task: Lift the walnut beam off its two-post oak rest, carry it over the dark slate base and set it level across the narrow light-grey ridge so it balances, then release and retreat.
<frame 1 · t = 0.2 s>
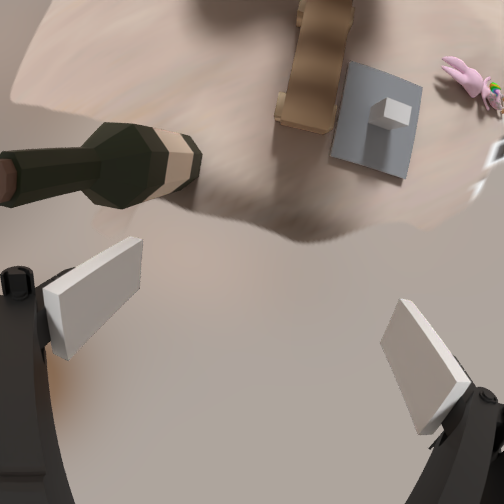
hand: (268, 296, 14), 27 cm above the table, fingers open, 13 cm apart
rabbit figure: (470, 87, 31), on the table
walnut beam: (317, 54, 29), point 5 cm above the table, touching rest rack
wine bottle: (175, 161, 40), on the table
fulcrum: (377, 119, 35), on the table
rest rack: (313, 66, 34), on the table
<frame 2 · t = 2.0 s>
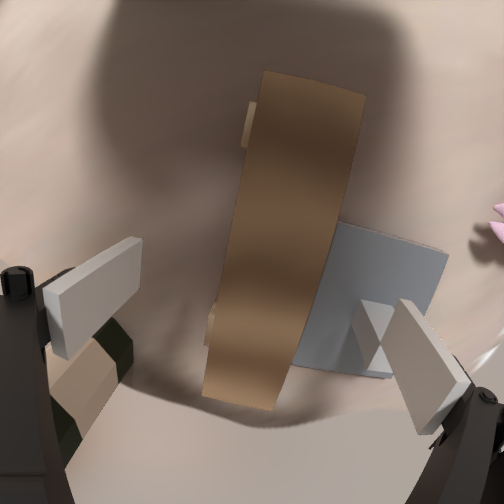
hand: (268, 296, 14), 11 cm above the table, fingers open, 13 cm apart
walnut beam: (274, 249, 20), point 5 cm above the table, touching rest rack
wine bottle: (105, 340, 31), on the table
fulcrum: (368, 307, 26), on the table
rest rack: (276, 230, 24), on the table
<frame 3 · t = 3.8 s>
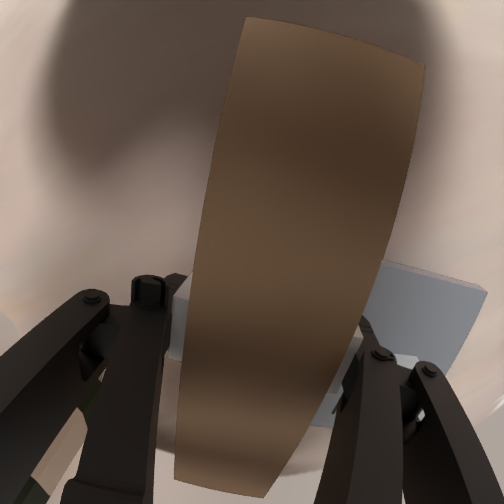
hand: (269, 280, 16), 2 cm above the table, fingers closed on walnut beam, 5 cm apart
walnut beam: (267, 303, 13), point 5 cm above the table, touching gripper, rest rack
wine bottle: (74, 380, 24), on the table
fulcrum: (387, 357, 19), on the table
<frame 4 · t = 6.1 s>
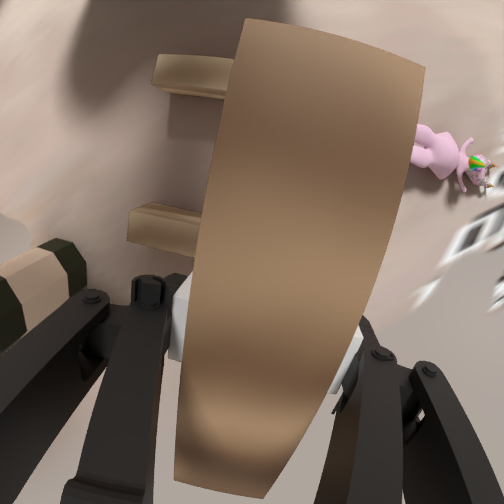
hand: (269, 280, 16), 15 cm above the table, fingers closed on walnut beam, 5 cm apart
rabbit figure: (441, 157, 26), on the table
walnut beam: (266, 305, 13), point 18 cm above the table, touching gripper
wine bottle: (66, 266, 35), on the table
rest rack: (190, 152, 29), on the table
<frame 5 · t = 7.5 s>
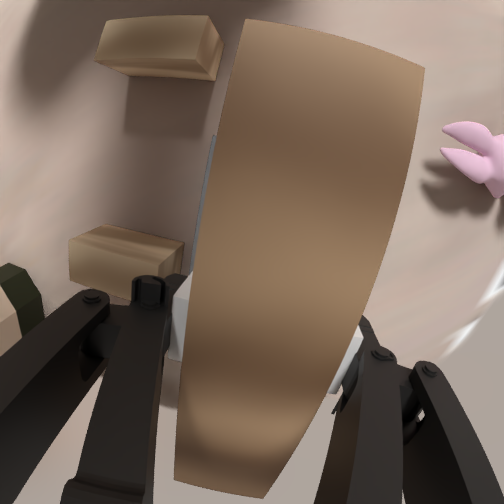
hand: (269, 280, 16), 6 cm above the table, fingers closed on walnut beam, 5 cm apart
rabbit figure: (492, 166, 18), on the table
walnut beam: (266, 305, 13), point 8 cm above the table, touching gripper
wine bottle: (22, 296, 26), on the table
fulcrum: (273, 249, 21), on the table
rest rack: (152, 154, 20), on the table
when the fingers open (6 cm above the table, at t = 8.4 s): walnut beam stays where it is, resting on fulcrum.
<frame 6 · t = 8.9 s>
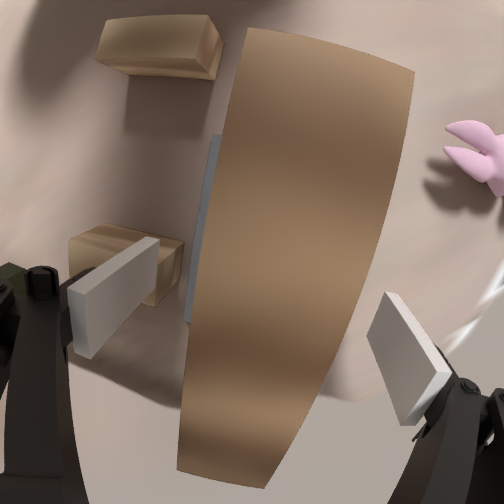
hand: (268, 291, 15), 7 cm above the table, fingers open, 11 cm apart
rabbit figure: (494, 166, 18), on the table
walnut beam: (267, 297, 14), point 8 cm above the table, touching fulcrum
wine bottle: (22, 295, 26), on the table
fulcrum: (273, 248, 21), on the table
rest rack: (152, 154, 20), on the table
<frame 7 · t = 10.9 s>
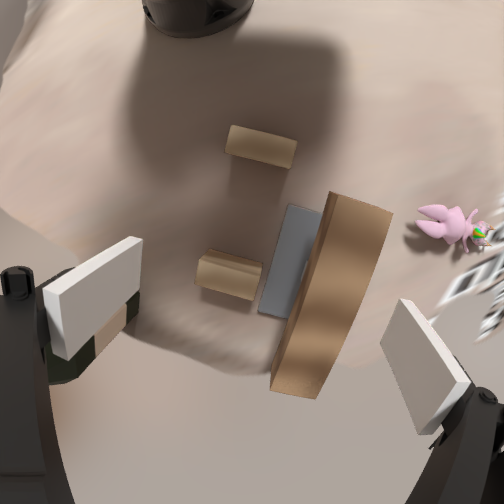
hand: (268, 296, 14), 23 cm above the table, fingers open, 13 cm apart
rabbit figure: (451, 224, 34), on the table
walnut beam: (322, 294, 30), point 8 cm above the table, touching fulcrum
wine bottle: (117, 294, 41), on the table
fulcrum: (315, 269, 37), on the table
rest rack: (247, 209, 36), on the table
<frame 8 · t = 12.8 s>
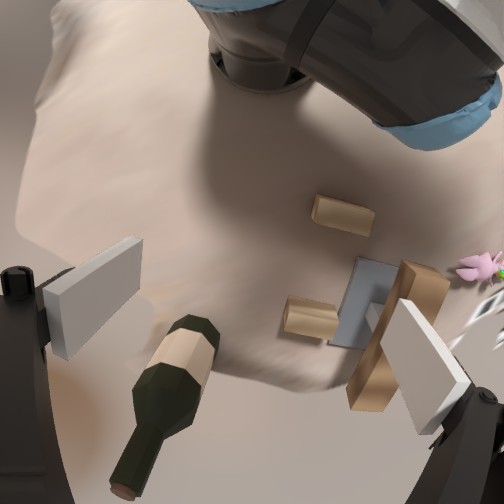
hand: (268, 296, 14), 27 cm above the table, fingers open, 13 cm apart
rabbit figure: (480, 263, 39), on the table
walnut beam: (389, 334, 35), point 8 cm above the table, touching fulcrum
wine bottle: (196, 335, 47), on the table
fulcrum: (375, 307, 42), on the table
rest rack: (323, 262, 41), on the table
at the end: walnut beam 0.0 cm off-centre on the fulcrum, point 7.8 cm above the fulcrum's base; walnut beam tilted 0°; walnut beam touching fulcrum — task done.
